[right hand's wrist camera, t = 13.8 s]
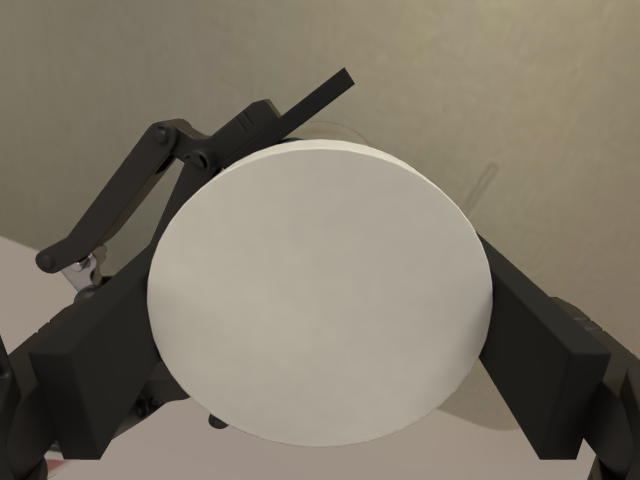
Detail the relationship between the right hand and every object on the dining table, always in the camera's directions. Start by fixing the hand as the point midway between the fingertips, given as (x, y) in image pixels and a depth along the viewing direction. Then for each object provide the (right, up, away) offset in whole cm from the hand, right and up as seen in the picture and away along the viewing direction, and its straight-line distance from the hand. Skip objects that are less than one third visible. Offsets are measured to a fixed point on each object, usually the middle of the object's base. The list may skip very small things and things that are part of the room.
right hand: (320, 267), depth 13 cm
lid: (0, -1, -3) cm, 3 cm away
